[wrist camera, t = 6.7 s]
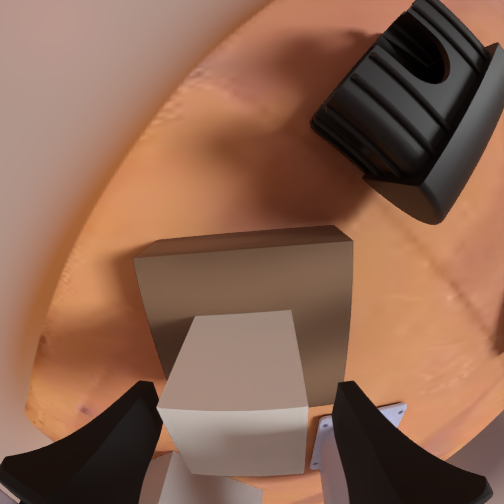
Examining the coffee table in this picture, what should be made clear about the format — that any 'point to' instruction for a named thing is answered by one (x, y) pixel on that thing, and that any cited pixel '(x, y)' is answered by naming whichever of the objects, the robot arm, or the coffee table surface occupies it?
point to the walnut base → (256, 292)
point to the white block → (238, 396)
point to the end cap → (418, 110)
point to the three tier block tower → (191, 485)
